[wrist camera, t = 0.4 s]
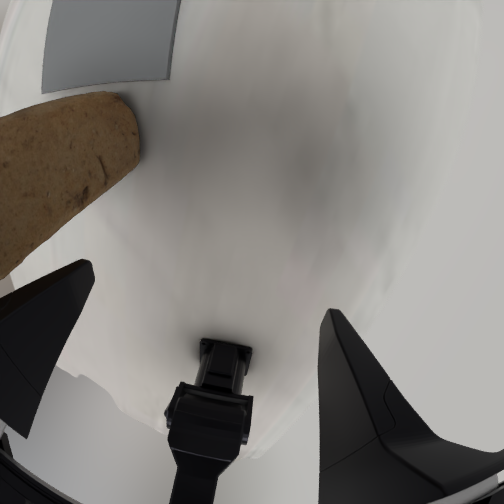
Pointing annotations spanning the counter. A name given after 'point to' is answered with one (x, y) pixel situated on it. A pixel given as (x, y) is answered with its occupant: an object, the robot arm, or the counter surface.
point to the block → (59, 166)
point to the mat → (108, 42)
